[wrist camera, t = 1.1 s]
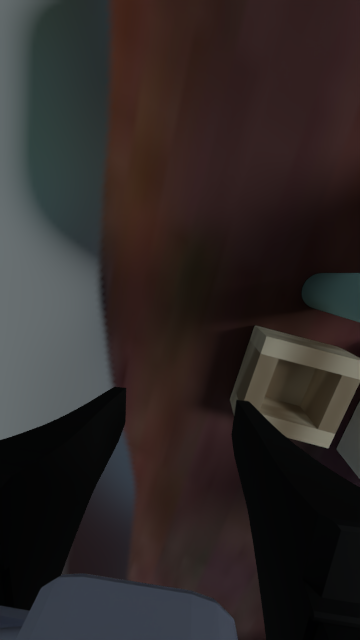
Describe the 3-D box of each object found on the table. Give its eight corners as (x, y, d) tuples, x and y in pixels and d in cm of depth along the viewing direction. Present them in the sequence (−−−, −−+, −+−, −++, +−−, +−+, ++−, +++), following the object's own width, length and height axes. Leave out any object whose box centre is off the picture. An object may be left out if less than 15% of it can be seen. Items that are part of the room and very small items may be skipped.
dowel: (345, 277, 18) (455, 281, 10) (330, 312, 19) (424, 340, 11) (309, 269, 18) (392, 266, 10) (296, 303, 19) (365, 325, 11)
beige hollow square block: (339, 347, 19) (369, 362, 16) (307, 420, 21) (328, 448, 18) (254, 325, 20) (266, 336, 16) (229, 399, 21) (235, 423, 18)
